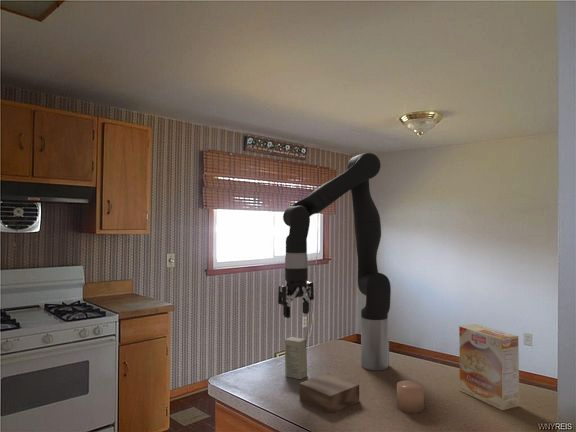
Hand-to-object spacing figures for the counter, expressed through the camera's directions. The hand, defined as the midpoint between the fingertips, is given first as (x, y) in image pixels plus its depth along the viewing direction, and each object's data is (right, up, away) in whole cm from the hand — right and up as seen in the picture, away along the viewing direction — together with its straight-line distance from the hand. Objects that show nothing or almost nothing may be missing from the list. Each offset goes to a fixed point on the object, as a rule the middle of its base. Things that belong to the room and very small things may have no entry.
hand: (296, 315), depth 136 cm
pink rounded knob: (+31, -20, -23) cm, 43 cm away
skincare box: (0, -20, 0) cm, 20 cm away
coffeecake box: (+55, -20, -17) cm, 61 cm away
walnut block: (+9, -20, -19) cm, 29 cm away
